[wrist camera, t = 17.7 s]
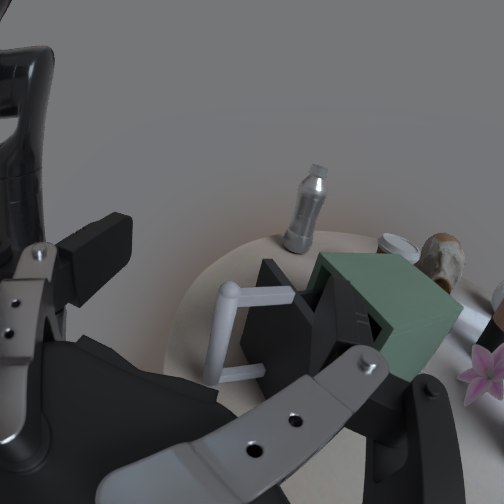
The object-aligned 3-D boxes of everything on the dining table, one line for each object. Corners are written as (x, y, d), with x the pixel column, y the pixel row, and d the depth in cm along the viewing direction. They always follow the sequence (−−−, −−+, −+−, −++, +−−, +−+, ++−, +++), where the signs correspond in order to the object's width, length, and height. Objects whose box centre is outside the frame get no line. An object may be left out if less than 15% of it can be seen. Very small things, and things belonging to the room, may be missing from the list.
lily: (458, 362, 43) (467, 328, 38) (509, 368, 35) (524, 334, 31) (445, 416, 35) (457, 387, 31) (502, 423, 28) (522, 394, 23)
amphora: (465, 239, 73) (480, 243, 48) (452, 289, 76) (459, 313, 52) (427, 228, 80) (424, 226, 56) (414, 277, 84) (406, 296, 59)
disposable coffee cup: (366, 275, 65) (385, 228, 59) (401, 294, 60) (423, 248, 55) (353, 290, 57) (375, 237, 52) (393, 312, 53) (419, 259, 47)
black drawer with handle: (218, 442, 25) (250, 345, 18) (188, 347, 35) (202, 242, 29) (378, 395, 33) (437, 309, 27) (329, 331, 44) (366, 247, 38)
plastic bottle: (297, 242, 72) (321, 164, 63) (313, 256, 67) (340, 173, 58) (275, 243, 69) (298, 160, 60) (291, 258, 64) (317, 169, 55)
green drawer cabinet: (335, 413, 30) (394, 328, 24) (287, 336, 41) (319, 252, 35) (413, 379, 37) (464, 307, 30) (365, 323, 48) (399, 253, 42)
